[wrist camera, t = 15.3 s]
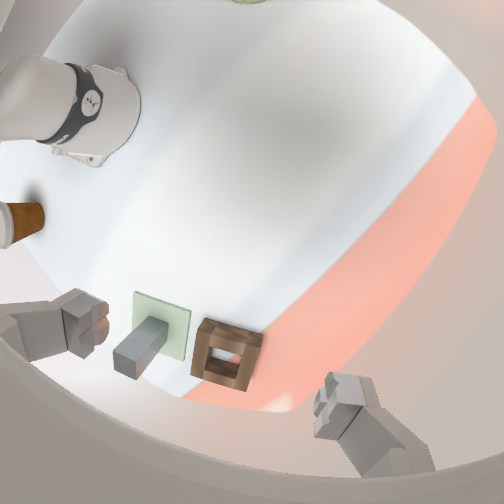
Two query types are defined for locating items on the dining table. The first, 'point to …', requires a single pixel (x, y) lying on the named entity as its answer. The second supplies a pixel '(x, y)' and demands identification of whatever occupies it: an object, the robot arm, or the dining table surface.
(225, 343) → the socket block
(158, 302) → the mat
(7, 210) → the disposable coffee cup
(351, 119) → the dining table surface
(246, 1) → the reusable coffee cup
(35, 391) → the robot arm
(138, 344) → the peg
